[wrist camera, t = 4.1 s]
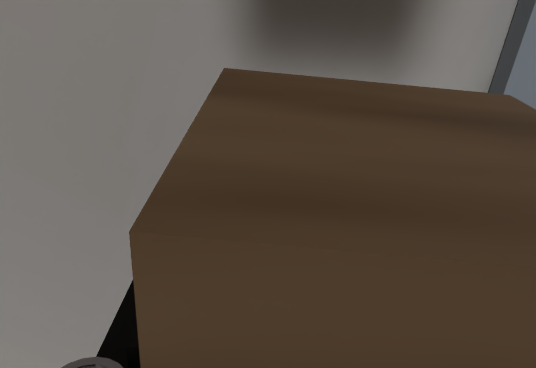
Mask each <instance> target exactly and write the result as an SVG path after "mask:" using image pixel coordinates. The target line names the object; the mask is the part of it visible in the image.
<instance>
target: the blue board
mask: <svg viewBox="0 0 536 368" xmlns="http://www.w3.org/2000/svg"><path fill="white" fill-rule="evenodd" d="M489 93H493V94H503V95H511V96H512V97H514V98H516V99H518V100H520V101H521V102H523V103H525V104H527V105H529V106H530V107H532V108H534V109H536V0H519V1H518V4H517V7H516V10H515V14H514V17H513V20H512V23H511V26H510V29H509V32H508V35H507V38H506V41H505V44H504V47H503V50H502V53H501V56H500V59H499V62H498V65H497V68H496V71H495V74H494V77H493V81H492V84H491V87H490V90H489Z"/></svg>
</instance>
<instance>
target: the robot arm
mask: <svg viewBox="0 0 536 368" xmlns="http://www.w3.org/2000/svg"><path fill="white" fill-rule="evenodd" d="M62 368H141V366H140V354H139V342H138V330H137V318H136V307H135V295H134V283H133V281H132V283H131V285H130V287H129V289H128V291H127V293H126V295H125V297H124V299H123V301H122V304H121V306H120V308H119V310H118V312H117V314H116V316H115V318H114V320H113V322H112V324H111V327H110V329H109V331H108V333H107V335H106V337H105V339H104V341H103V343H102V345H101V347H100V350H99V352H98V354H97V356H96V357H90V358H83V359H80V360H77V361H74V362H71V363H68V364H67V365H65V366H63V367H62Z"/></svg>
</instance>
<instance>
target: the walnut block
mask: <svg viewBox="0 0 536 368" xmlns="http://www.w3.org/2000/svg"><path fill="white" fill-rule="evenodd" d="M129 235H130V247H131V259H132V271H133V283H134V295H135V307H136V318H137V330H138V342H139V354H140V366H141V368H536V109H534V108H532V107H530V106H529V105H527V104H525V103H523V102H521V101H520V100H518V99H516V98H514V97H512V96H511V95H503V94H493V93H482V92H472V91H461V90H450V89H440V88H429V87H419V86H408V85H398V84H387V83H377V82H366V81H355V80H345V79H334V78H324V77H313V76H303V75H292V74H282V73H271V72H260V71H250V70H239V69H229V68H224V69H223V71H222V73H221V74H220V76H219V78H218V80H217V81H216V83H215V85H214V86H213V88H212V90H211V92H210V93H209V95H208V97H207V99H206V100H205V102H204V104H203V105H202V107H201V109H200V111H199V112H198V114H197V116H196V117H195V119H194V121H193V123H192V124H191V126H190V128H189V130H188V131H187V133H186V135H185V136H184V138H183V140H182V142H181V143H180V145H179V147H178V148H177V150H176V152H175V154H174V155H173V157H172V159H171V161H170V162H169V164H168V166H167V167H166V169H165V171H164V173H163V174H162V176H161V178H160V179H159V181H158V183H157V185H156V186H155V188H154V190H153V191H152V193H151V195H150V197H149V198H148V200H147V202H146V204H145V205H144V207H143V209H142V210H141V212H140V214H139V216H138V217H137V219H136V221H135V222H134V224H133V226H132V228H131V229H130V231H129Z"/></svg>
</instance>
